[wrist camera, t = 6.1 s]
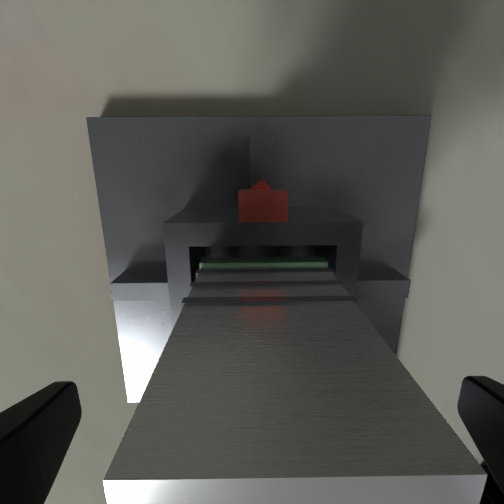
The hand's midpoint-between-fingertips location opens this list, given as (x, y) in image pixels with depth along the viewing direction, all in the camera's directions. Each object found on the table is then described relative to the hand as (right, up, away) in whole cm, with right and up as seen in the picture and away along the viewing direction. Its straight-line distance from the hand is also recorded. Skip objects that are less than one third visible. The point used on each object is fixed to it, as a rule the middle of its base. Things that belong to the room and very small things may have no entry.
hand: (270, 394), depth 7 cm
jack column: (0, +1, +4) cm, 4 cm away
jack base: (0, +2, +8) cm, 8 cm away
